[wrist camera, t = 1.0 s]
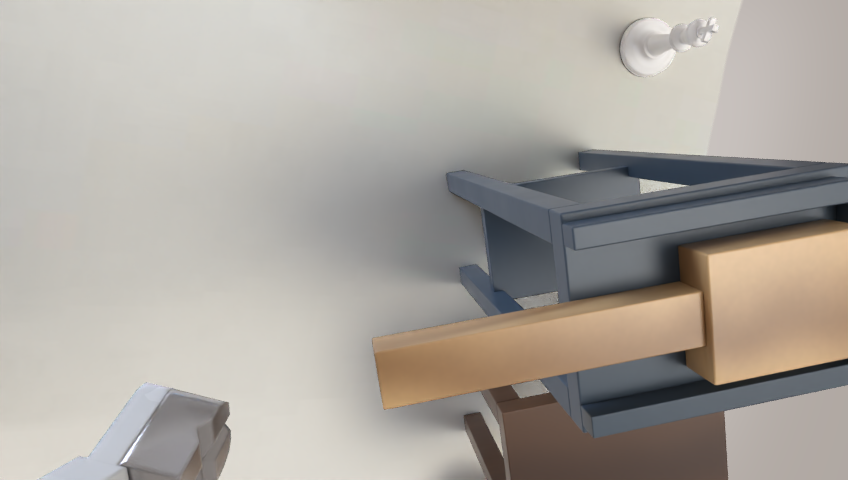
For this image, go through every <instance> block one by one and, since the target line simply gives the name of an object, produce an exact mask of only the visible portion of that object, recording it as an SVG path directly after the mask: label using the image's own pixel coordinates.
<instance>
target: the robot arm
mask: <svg viewBox="0 0 848 480" xmlns="http://www.w3.org/2000/svg"><path fill="white" fill-rule="evenodd" d="M229 415H230V412H229V403H228V402H225V401H221V400H217V399H213V398H209V397H205V396H201V395H197V394H193V393H188V392H184V391H180V390H176V389H173V388H169V387H165V386H160V385H156V384H152V383H147V382H146V383H144V384H143V385H142V386H141V387H139V388H138V389H137V390H136V391H135V393H134V394H133V395H132V397H131V398H130V400H129V401H128V402H127V404H126V405H125V407H124V408H123V409H122V411H121V412H120V413H119V415H118V416H117V418H116V419H115V420H114V422H113V423H112V425H111V426H110V427H109V429H108V430H107V431H106V433H105V434H104V436H103V437H102V438H101V440H100V441H99V443H98V444H97V445H96V447H95V448H94V449H93V451H92V452H91V454H90V455H89V456H88V458H86V457H81V456H79V457H77V458H75V459H73V460H72V461H70V462H68V463H66V464H64V465H63V466H61V467H59V468H57V469H55V470H54V471H52V472H50V473H48V474H46V475H45V476H43V477H41V478H39V479H37V480H218V478H219V476H220V474H221V472H222V470H223V468H224V465H225V462H226V459H227V456H228V453H229V449H230V442H231V430H230V429H229V428H228V427H227V425H226V424H225V422H226V421H227V419H228V417H229Z"/></svg>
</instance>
